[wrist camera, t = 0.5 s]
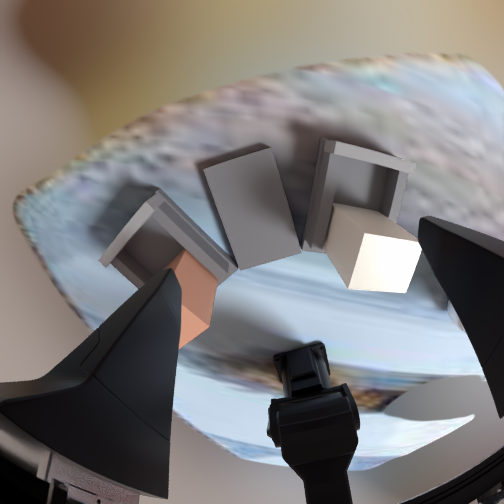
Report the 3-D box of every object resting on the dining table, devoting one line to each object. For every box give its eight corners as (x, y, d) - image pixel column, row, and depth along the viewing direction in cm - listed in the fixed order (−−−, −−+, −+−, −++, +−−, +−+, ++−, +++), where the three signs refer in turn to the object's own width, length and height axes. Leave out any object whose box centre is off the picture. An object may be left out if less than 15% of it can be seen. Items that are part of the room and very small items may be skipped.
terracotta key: (219, 273, 26) (209, 326, 19) (185, 302, 27) (167, 357, 20) (188, 244, 25) (165, 290, 18) (155, 276, 26) (127, 326, 19)
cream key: (367, 250, 25) (405, 293, 18) (320, 243, 25) (347, 288, 18) (378, 211, 24) (423, 243, 16) (329, 202, 23) (364, 232, 16)
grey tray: (407, 244, 27) (425, 259, 23) (151, 317, 30) (141, 339, 26) (388, 120, 22) (410, 120, 18) (99, 211, 25) (79, 224, 21)
